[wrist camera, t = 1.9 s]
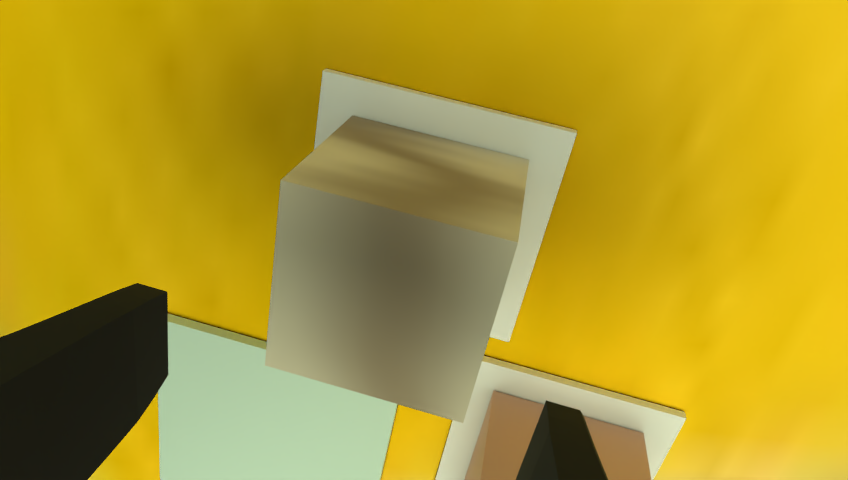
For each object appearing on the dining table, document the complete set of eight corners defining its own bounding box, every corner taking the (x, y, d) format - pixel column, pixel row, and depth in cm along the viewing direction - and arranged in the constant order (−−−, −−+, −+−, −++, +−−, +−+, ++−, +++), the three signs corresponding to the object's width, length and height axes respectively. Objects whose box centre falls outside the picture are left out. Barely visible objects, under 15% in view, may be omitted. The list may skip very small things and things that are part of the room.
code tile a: (302, 279, 20) (298, 284, 20) (326, 68, 17) (322, 70, 17) (509, 336, 20) (508, 343, 19) (576, 130, 16) (577, 133, 16)
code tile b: (431, 493, 24) (429, 500, 23) (472, 352, 20) (470, 358, 20) (611, 548, 23) (612, 556, 23) (684, 411, 20) (686, 419, 19)
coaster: (165, 480, 26) (160, 488, 26) (162, 311, 22) (156, 318, 22) (366, 543, 26) (363, 551, 25) (403, 381, 21) (400, 388, 21)
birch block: (331, 266, 19) (265, 365, 15) (352, 115, 17) (280, 180, 13) (485, 309, 19) (463, 423, 15) (529, 159, 17) (518, 242, 12)
